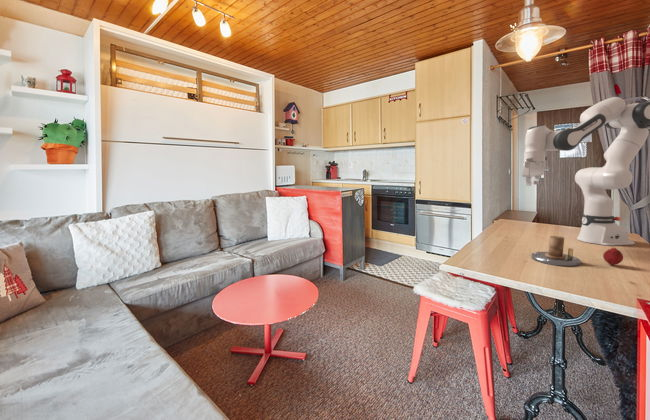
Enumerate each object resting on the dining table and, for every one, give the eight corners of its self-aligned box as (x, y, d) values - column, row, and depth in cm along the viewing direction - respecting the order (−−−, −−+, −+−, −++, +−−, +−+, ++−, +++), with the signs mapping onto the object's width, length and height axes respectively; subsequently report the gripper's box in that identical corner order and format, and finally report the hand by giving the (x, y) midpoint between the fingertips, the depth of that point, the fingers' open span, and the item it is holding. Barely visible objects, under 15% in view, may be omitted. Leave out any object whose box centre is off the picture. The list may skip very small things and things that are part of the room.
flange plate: (563, 254, 137) (565, 241, 136) (590, 266, 120) (592, 252, 120) (523, 253, 140) (524, 241, 139) (544, 266, 123) (545, 251, 122)
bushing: (558, 255, 133) (560, 235, 131) (569, 260, 126) (571, 239, 125) (541, 254, 134) (543, 235, 132) (551, 259, 127) (552, 239, 126)
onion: (625, 268, 118) (628, 248, 117) (608, 267, 119) (611, 248, 118) (615, 263, 124) (617, 244, 122) (598, 262, 125) (601, 244, 124)
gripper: (533, 158, 143) (531, 186, 145) (548, 157, 154) (546, 183, 157) (518, 158, 148) (517, 186, 150) (534, 158, 160) (532, 183, 162)
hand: (532, 185), depth 153 cm, fingers open, 8 cm apart
